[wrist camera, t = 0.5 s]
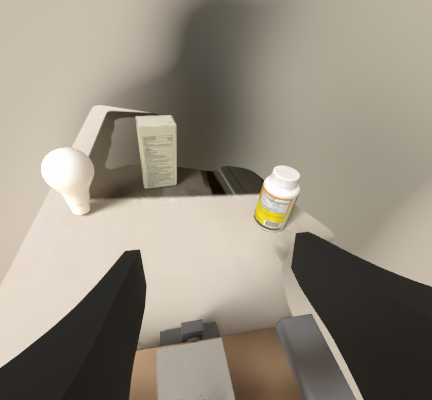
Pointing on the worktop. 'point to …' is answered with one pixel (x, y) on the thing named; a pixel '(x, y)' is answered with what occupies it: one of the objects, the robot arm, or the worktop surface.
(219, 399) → the steel block
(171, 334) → the stand
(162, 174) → the skincare box
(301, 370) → the beam
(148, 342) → the worktop surface
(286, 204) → the supplement bottle
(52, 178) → the lightbulb
